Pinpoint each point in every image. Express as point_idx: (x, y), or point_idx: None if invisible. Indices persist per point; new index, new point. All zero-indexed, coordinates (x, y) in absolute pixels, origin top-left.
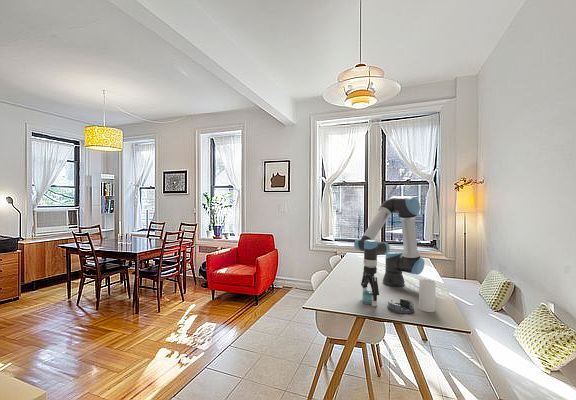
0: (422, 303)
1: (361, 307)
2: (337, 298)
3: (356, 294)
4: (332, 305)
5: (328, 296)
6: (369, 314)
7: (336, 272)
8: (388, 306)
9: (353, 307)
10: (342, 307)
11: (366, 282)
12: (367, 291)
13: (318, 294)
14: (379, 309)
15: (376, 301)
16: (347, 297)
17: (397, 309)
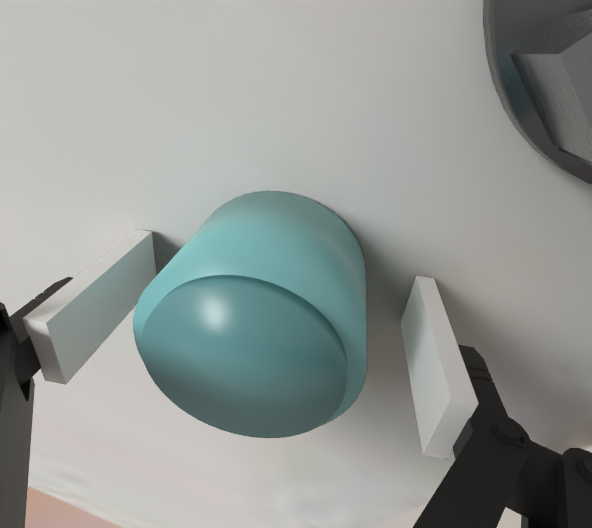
0: None
1: (385, 411)
2: (140, 447)
3: (3, 260)
4: (278, 523)
5: (97, 470)
6: (565, 444)
7: None
8: (588, 165)
9: (359, 456)
10: (332, 503)
11: (10, 513)
12: (188, 369)
13: (61, 493)
14: (526, 298)
15: (447, 323)
16: (112, 380)
17: None
